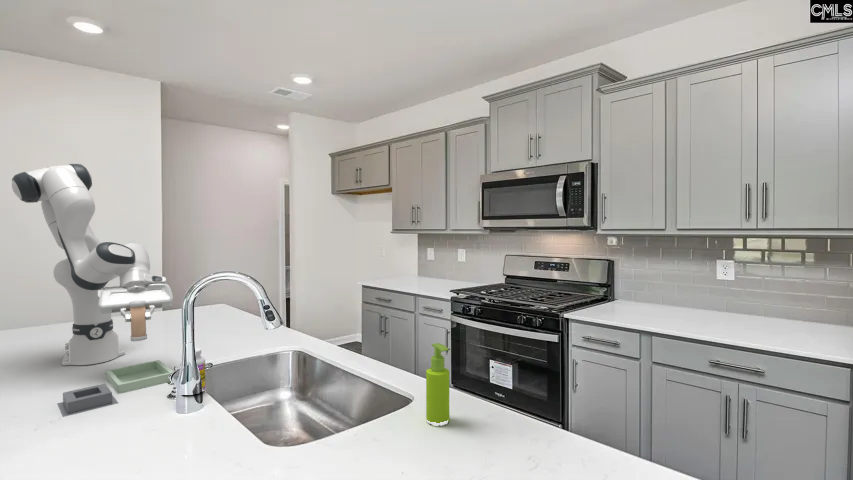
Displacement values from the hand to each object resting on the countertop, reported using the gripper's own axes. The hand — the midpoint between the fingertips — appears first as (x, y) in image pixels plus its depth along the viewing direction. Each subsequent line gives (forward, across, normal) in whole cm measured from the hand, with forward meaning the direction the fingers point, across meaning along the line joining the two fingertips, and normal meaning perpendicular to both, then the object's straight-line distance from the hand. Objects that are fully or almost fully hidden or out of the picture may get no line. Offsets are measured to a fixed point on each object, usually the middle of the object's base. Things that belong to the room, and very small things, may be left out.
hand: (138, 319), depth 140 cm
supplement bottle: (+28, +13, +1) cm, 30 cm away
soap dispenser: (+69, +61, -40) cm, 100 cm away
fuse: (+4, 0, +5) cm, 6 cm away
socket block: (+23, -13, +5) cm, 27 cm away
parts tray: (+14, 0, +15) cm, 20 cm away
